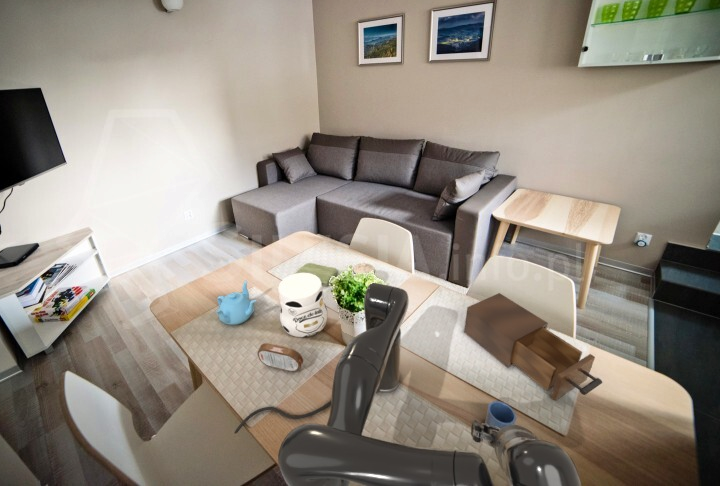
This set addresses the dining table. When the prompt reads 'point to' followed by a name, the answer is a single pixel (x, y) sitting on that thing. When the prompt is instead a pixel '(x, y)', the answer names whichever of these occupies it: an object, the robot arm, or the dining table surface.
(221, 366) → the dining table surface
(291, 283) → the milk container
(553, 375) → the drawer
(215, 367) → the dining table surface
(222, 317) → the teapot
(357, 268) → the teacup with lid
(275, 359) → the tin
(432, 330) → the dining table surface
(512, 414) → the cup
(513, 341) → the wooden storage box
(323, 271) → the washcloth
